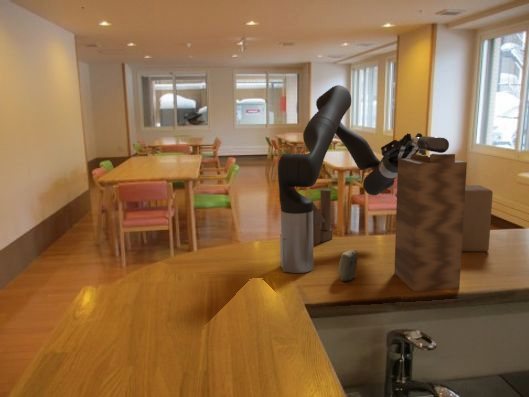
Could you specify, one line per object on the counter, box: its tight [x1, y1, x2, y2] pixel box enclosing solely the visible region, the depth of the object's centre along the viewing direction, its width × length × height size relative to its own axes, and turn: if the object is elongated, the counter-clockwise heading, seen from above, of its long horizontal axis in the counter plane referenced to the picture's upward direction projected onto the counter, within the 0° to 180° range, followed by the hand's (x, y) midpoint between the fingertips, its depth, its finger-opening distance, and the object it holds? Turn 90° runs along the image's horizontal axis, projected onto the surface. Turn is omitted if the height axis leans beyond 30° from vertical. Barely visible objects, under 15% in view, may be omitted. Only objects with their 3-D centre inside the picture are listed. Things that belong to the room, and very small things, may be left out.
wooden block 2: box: [462, 185, 493, 253], centre depth 146 cm, size 10×10×20 cm
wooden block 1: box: [313, 188, 333, 246], centre depth 158 cm, size 4×11×18 cm, turn 137°
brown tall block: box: [394, 153, 468, 292], centre depth 117 cm, size 12×13×34 cm
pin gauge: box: [408, 135, 450, 154], centre depth 119 cm, size 4×21×4 cm, turn 5°
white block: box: [337, 248, 359, 283], centre depth 122 cm, size 6×5×8 cm
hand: (415, 136), depth 124 cm, fingers closed on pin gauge, 2 cm apart
